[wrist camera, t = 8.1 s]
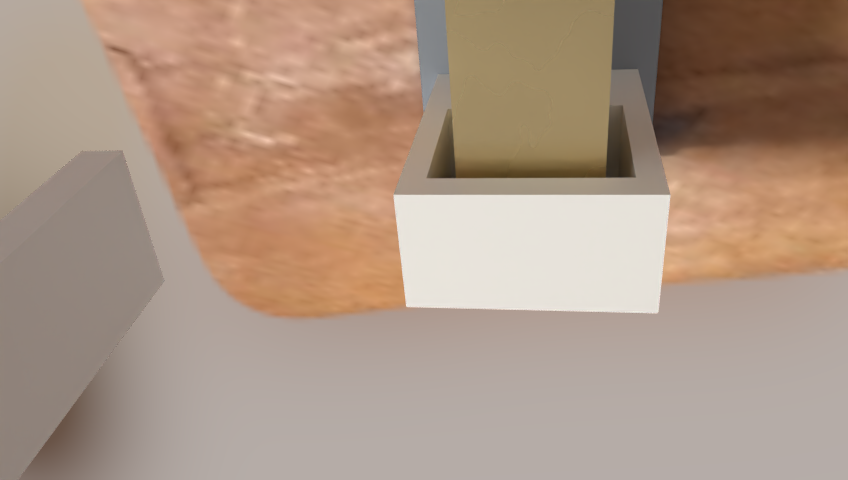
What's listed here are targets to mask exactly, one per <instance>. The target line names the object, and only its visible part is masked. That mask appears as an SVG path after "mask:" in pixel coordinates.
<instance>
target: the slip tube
mask: <svg viewBox="0 0 848 480" xmlns="http://www.w3.org/2000/svg"><path fill="white" fill-rule="evenodd" d="M614 7H615V0H445V16H446V31H447V47H448V62H449V77H450V93H451V108H452V124H453V139H454V155H455V170H456V178H606V162H607V142H608V123H609V104H610V84H611V65H612V45H613V26H614Z"/></svg>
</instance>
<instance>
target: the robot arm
mask: <svg viewBox="0 0 848 480" xmlns="http://www.w3.org/2000/svg"><path fill="white" fill-rule="evenodd" d="M163 282H164V278H163V275H162V272H161V269H160V266H159V263H158V260H157V256H156V253H155V250H154V247H153V244H152V241H151V238H150V235H149V231H148V228H147V226H146V222H145V219H144V216H143V213H142V210H141V207H140V204H139V201H138V197H137V194H136V191H135V188H134V185H133V182H132V179H131V176H130V172H129V169H128V166H127V163H126V160H125V157H124V154H123V151H81V152H80V153H79V154H78V155H77V156H75V157H74V158H73V159H72V160H71V161H70V162H68V163H67V164H66V165H65V166H64V167H62V168H61V169H60V170H59V171H58V172H57V173H56V174H54V175H53V176H52V177H51V178H49V179H48V180H47V181H46V182H45V183H44V184H42V185H41V186H40V187H39V188H38V189H37V190H35V191H34V192H33V193H32V194H31V195H29V196H28V197H27V198H26V199H25V200H24V201H22V202H21V203H20V204H19V205H18V206H16V207H15V208H14V209H13V210H12V211H10V212H9V213H8V214H7V215H6V216H5V217H3V218H2V219H1V220H0V480H18V479H19V478H20V476H21V475H22V474H23V472H24V471H25V469H26V468H27V467H28V465H29V464H30V462H31V461H32V460H33V459H34V457H35V456H36V455H37V453H38V452H39V450H40V449H41V448H42V446H43V445H44V444H45V442H46V441H47V439H48V438H49V437H50V436H51V434H52V433H53V432H54V430H55V429H56V427H57V426H58V425H59V423H60V422H61V421H62V419H63V418H64V417H65V415H66V414H67V412H68V411H69V410H70V408H71V407H72V405H73V404H74V403H75V402H76V400H77V399H78V398H79V396H80V395H81V393H82V392H83V391H84V389H85V388H86V387H87V385H88V384H89V383H90V381H91V380H92V379H93V377H94V376H95V374H96V373H97V372H98V370H99V369H100V368H101V366H102V365H103V364H104V362H105V361H106V360H107V358H108V357H109V356H110V354H111V353H112V351H113V350H114V349H115V347H116V346H117V345H118V343H119V342H120V340H121V339H122V338H123V337H124V335H125V334H126V332H127V331H128V330H129V328H130V327H131V326H132V324H133V323H134V322H135V320H136V319H137V318H138V316H139V315H140V313H141V312H142V311H143V309H144V308H145V307H146V305H147V304H148V303H149V301H150V300H151V298H152V297H153V296H154V294H155V293H156V292H157V290H158V289H159V288H160V286H161V285H162V284H163Z"/></svg>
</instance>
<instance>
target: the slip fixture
mask: <svg viewBox="0 0 848 480" xmlns="http://www.w3.org/2000/svg"><path fill="white" fill-rule="evenodd" d="M414 4H415V16H416V27H417V39H418V51H419V62H420V74H421V86H422V98H423V109H424V114H423V116H422V119H421V122H420V125H419V127H418V130H417V133H416V135H415V138H414V141H413V144H412V146H411V149H410V152H409V154H408V157H407V160H406V162H405V165H404V168H403V171H402V173H401V176H400V179H399V181H398V184H397V187H396V189H395V192H394V203H395V212H396V221H397V229H398V238H399V247H400V256H401V264H402V273H403V282H404V290H405V299H406V307H429V308H469V309H509V310H510V309H511V310H549V311H588V312H628V313H658V310H659V300H660V291H661V281H662V272H663V262H664V252H665V243H666V233H667V223H668V213H669V204H670V191H669V187H668V184H667V180H666V176H665V172H664V168H663V164H662V160H661V156H660V152H659V149H658V145H657V141H656V137H655V133H654V129H653V113H654V101H655V90H656V78H657V66H658V54H659V42H660V30H661V19H662V7H663V0H615V7H614V26H613V45H612V65H611V84H610V104H609V123H608V142H607V162H606V178H456V170H455V155H454V139H453V124H452V108H451V93H450V77H449V62H448V47H447V31H446V16H445V0H414Z"/></svg>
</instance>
